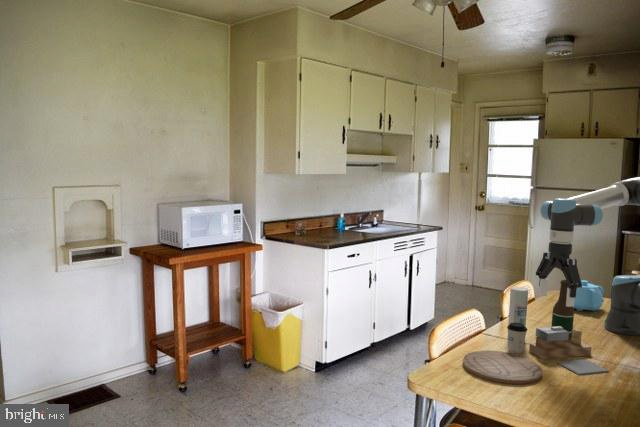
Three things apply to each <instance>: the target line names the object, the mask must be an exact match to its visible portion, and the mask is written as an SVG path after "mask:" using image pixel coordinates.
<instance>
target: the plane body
mask: <svg viewBox="0 0 640 427" xmlns="http://www.w3.org/2000/svg"><path fill="white" fill-rule="evenodd" d="M582 333H583V331H582V330H580V329H579V328H578V329H577V328H575V329H574V328H573V333H572V340H560V341H545V340H543V339H541V338H539V337H537V336H535V342H530V343H529V346H528V348H529V349H528V351H529V352H530V353H532V354H533V355H536V356H537V357H539V358H541V359H543V360H550V359H561V358H562V359H563V358H573V357H583V356H585V357H586V356H591V355H592V346H590V345H588V344H586V343H584V342H582Z"/></svg>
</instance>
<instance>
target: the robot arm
mask: <svg viewBox="0 0 640 427" xmlns="http://www.w3.org/2000/svg"><path fill="white" fill-rule="evenodd" d="M627 205H629V206H631V205H632V206H640V176H636V177H632V178H627V179H623V180H619V181H616V182H614V183H613V182H612V183H611V184H610V185H609V186H608V187H604V188H600V189H596V190H595V191H591V192H590V191H589V192H586V193H583V194H579V195H576V196H571V197H568V198H554V199H553V200H546V201H544V202H543V203H542V205H541V207H540V211H539V212H540V216H541V217H542V218H543V219H544V220H547V221H549V222H550V228H549V229H550V230H549V243H548V248H547V249H548V252H543V253H542V254H543V255H542V258H541V261H540V263H539V265H538V266H537V269H536V271H535V276H537V277H538V280H539V283H538V285H539V292H538V297H547V296H548V294H547V293H548V281H549V279H548V276H549V275H550V274H551V273H552V271H553V270H554V269H558V270H560V271H561V272H562V273H563V276H564V278H565V280H567V283H568V285H569V287H568V288H567V299H566V306H567V307H571V306H574V300H575V297H576V290H577V288H581V287H582V283H581V277H580V272H579V269H578V264H577V263H578V261H577V259H576V258H570V255H572V252H573V244H572V243H573V241H574V228H575V226H588V227H591V226H597V225H599V224H600V223H601V222H602V220H603V217H604V212H603V209H606V208H610V207H613V206H617V207H622V206H627ZM577 283H578V284H577ZM572 284H573V285H572ZM610 295H611V296H610V307H609V311H608V312H607V316H606V318H605V320H604V323H603V327H604V329H606V330H608V331H610V332H613V333H617V334H621V335H628V336H640V275H627V274H626V275H625V274H624V275H616V276H613V279H612V284H611V294H610Z"/></svg>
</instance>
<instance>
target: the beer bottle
mask: <svg viewBox="0 0 640 427" xmlns="http://www.w3.org/2000/svg"><path fill="white" fill-rule="evenodd" d="M559 283H560V290H559V296H558V300H557V301H556V302H555V304H554V306H553V308H552V313H551V314H552V315H551V325H550V327H555V326H561V327H563V329H564V330H566V331H568V332H569V335H568V340H572V334H573V329H574V321H575V320H574V318H575V317H574V316H575V308H573V306H571V307H567V306H566V299H567V288H568V287H569V285H568V283H567V280H566V279H561V280H560V282H559Z"/></svg>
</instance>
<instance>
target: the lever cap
mask: <svg viewBox="0 0 640 427" xmlns="http://www.w3.org/2000/svg"><path fill="white" fill-rule="evenodd" d="M568 335H569V332H568V331H566V330H564V329H563V327H561V326H555V327H551V326H545V327H543V326H542V327H536V328H535V337H539V338H541V339H543V340H545V341H560V340H568Z"/></svg>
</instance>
